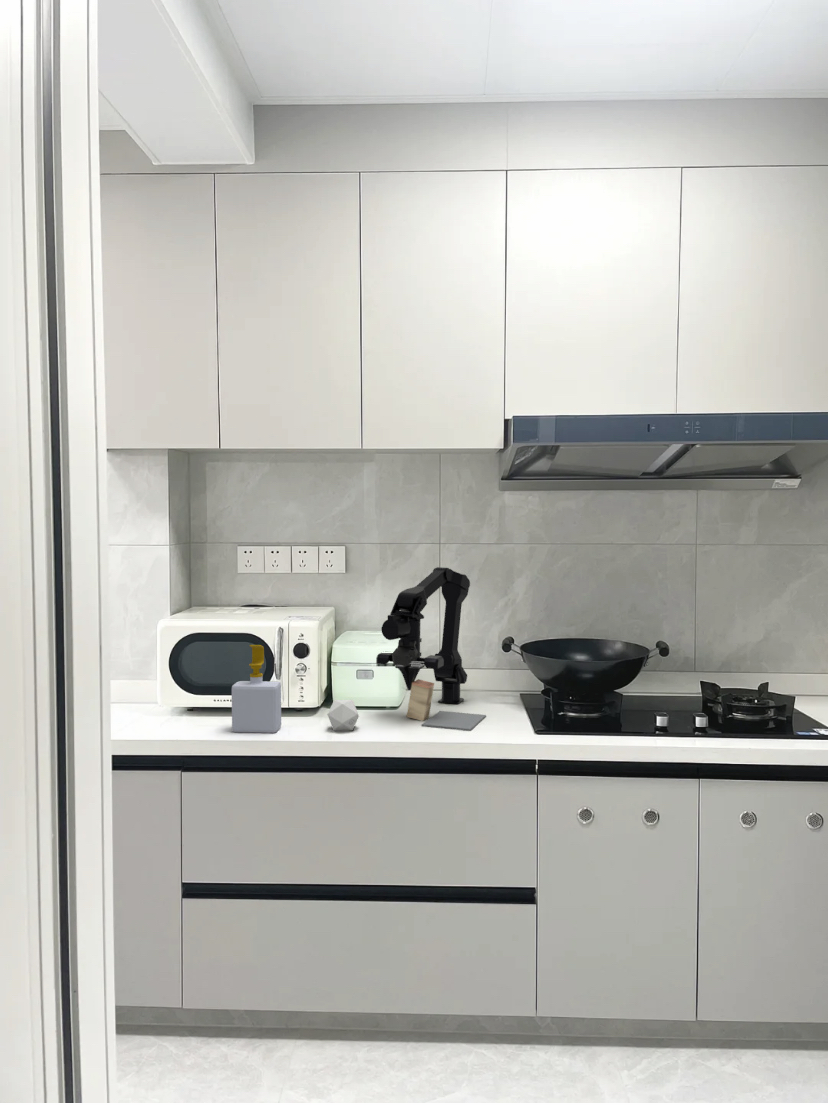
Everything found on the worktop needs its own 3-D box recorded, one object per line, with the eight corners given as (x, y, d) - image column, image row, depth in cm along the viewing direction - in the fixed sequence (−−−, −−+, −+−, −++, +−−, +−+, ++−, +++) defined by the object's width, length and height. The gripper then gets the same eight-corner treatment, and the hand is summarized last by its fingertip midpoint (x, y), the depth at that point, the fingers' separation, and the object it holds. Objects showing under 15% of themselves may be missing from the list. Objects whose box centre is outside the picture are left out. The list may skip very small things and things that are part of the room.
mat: (439, 712, 242) (439, 710, 242) (486, 716, 238) (486, 714, 237) (421, 726, 227) (421, 724, 227) (470, 730, 223) (470, 729, 222)
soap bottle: (231, 732, 221) (230, 645, 219) (238, 726, 227) (237, 641, 226) (276, 733, 220) (275, 646, 219) (281, 726, 227) (281, 642, 225)
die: (346, 737, 218) (365, 706, 221) (318, 720, 220) (338, 689, 222) (348, 740, 226) (366, 710, 229) (321, 723, 227) (340, 693, 230)
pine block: (412, 712, 239) (418, 679, 238) (428, 716, 238) (434, 683, 237) (406, 716, 235) (412, 682, 233) (423, 721, 233) (428, 686, 232)
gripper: (368, 637, 231) (368, 692, 232) (431, 642, 225) (430, 698, 226) (384, 632, 242) (383, 684, 243) (444, 636, 235) (443, 690, 236)
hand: (409, 689), depth 237 cm, fingers closed
